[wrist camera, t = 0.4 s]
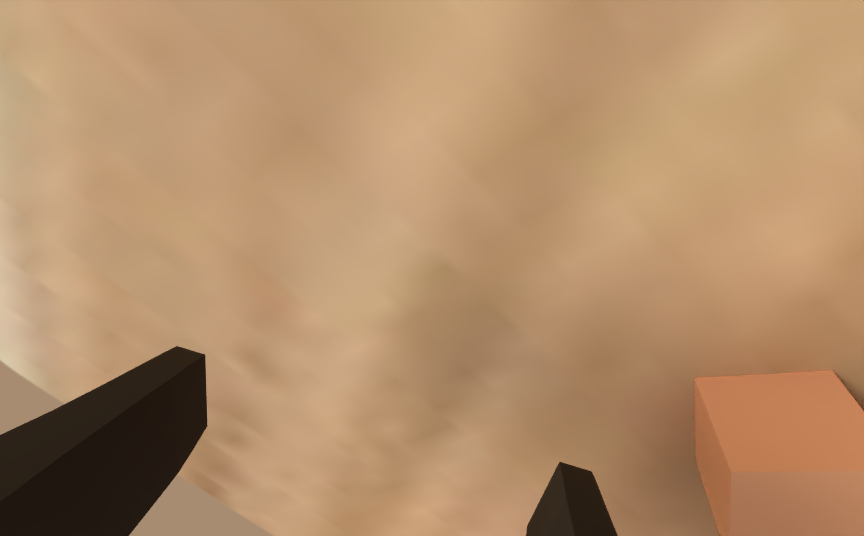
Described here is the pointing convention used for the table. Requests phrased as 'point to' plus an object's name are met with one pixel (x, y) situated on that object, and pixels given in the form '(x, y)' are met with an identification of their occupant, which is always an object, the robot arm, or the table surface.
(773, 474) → the cube
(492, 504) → the table surface
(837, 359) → the table surface
